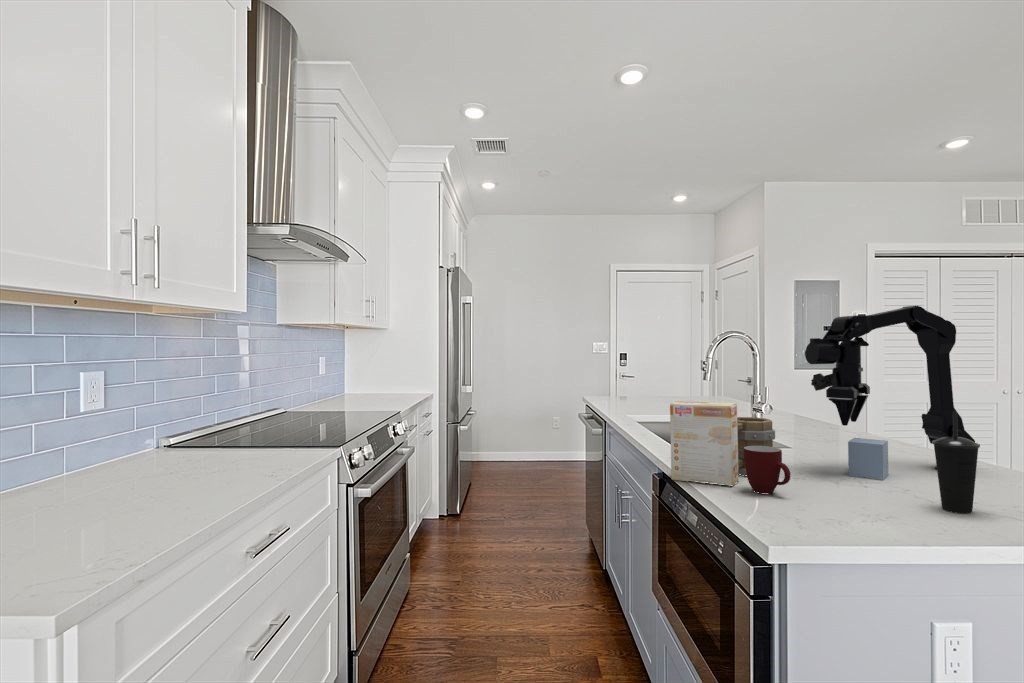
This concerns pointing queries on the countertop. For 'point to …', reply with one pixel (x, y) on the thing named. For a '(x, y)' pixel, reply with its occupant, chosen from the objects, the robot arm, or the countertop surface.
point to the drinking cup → (956, 470)
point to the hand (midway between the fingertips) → (849, 423)
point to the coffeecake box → (704, 442)
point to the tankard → (752, 436)
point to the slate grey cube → (868, 458)
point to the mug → (764, 468)
